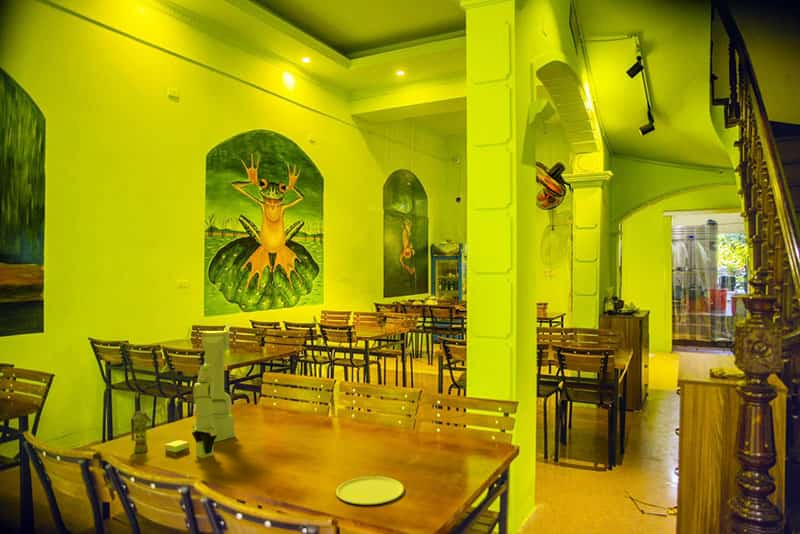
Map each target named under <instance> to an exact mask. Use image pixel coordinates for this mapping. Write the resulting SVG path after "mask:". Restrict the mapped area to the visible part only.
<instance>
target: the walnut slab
mask: <svg viewBox="0 0 800 534" xmlns="http://www.w3.org/2000/svg"><path fill="white" fill-rule="evenodd" d="M164 452H165V455H168V454H169V456H173V457H178V455H179V456H182V455H185V454H187V453H189V452H190V447H189V448H186V449H183V450H180V451H177V452H173V451H168V450H165V449H164Z"/></svg>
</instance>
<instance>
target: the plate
mask: <svg viewBox="0 0 800 534" xmlns="http://www.w3.org/2000/svg"><path fill="white" fill-rule="evenodd" d="M404 492H405V486H404V485H403V484H402V483H401V482H400V481H398V480H396V479H393V478H391V477H386V476H377V475H375V476H372V475H371V476H360V477H356V478H353V479H349V480H346V481H345V482H343V483H341V484H340V485H339V486H338V487H337V488H336V489H335V494H336V495H335V496H336V497H337V498H338V499H339V500H341V501H342V502H345V503H348V504H352V505H356V506H376V505H377V506H378V505H383V504H387V503H390V502H393V501H395V500H397V499H398V498H401V496H402V495H403V494H404Z"/></svg>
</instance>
